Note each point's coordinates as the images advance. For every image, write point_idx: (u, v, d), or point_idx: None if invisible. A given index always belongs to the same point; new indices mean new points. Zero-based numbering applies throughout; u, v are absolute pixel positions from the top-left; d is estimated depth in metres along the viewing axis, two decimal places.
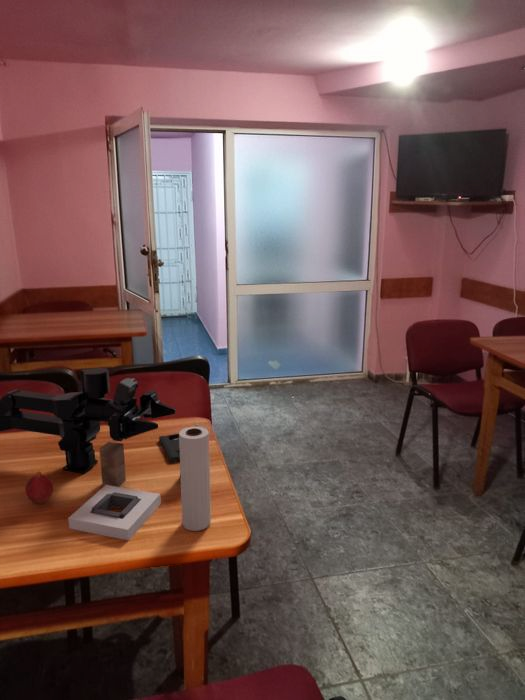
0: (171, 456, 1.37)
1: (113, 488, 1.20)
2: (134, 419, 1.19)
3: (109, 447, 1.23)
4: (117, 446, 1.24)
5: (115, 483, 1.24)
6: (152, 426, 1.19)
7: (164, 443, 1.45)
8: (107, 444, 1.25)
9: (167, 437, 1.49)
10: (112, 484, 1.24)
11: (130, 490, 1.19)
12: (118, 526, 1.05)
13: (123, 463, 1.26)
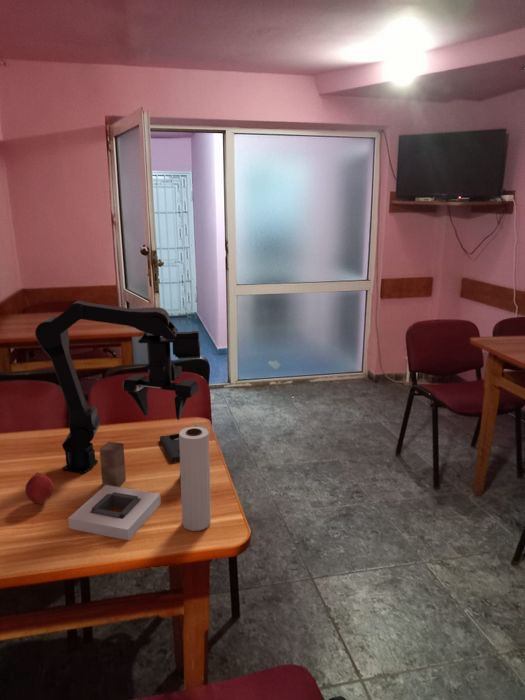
0: (172, 456, 1.38)
1: (113, 488, 1.20)
2: None
3: (109, 447, 1.23)
4: (117, 446, 1.24)
5: (115, 483, 1.24)
6: (180, 415, 1.32)
7: (165, 443, 1.45)
8: (107, 444, 1.25)
9: (168, 437, 1.49)
10: (112, 484, 1.24)
11: (130, 490, 1.19)
12: (118, 526, 1.05)
13: (123, 463, 1.26)
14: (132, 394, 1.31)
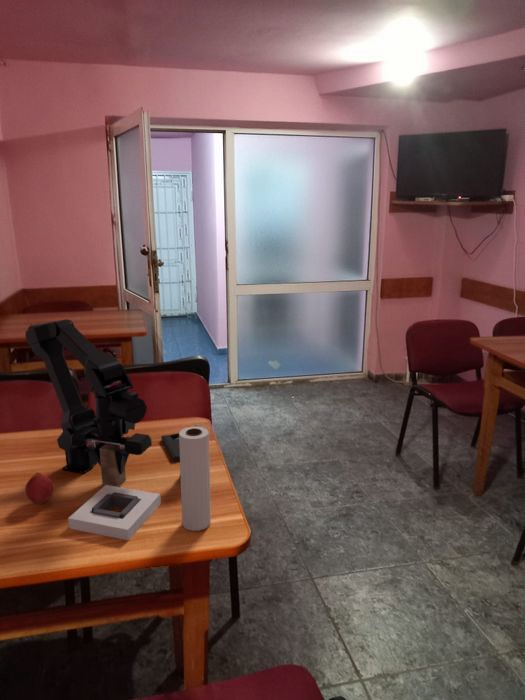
0: (174, 455, 1.38)
1: (113, 488, 1.20)
2: None
3: (109, 447, 1.23)
4: (117, 446, 1.24)
5: (115, 483, 1.24)
6: (122, 469, 1.25)
7: (167, 442, 1.45)
8: (107, 444, 1.25)
9: (169, 436, 1.49)
10: (112, 484, 1.24)
11: (130, 490, 1.19)
12: (118, 526, 1.05)
13: None
14: (89, 450, 1.23)
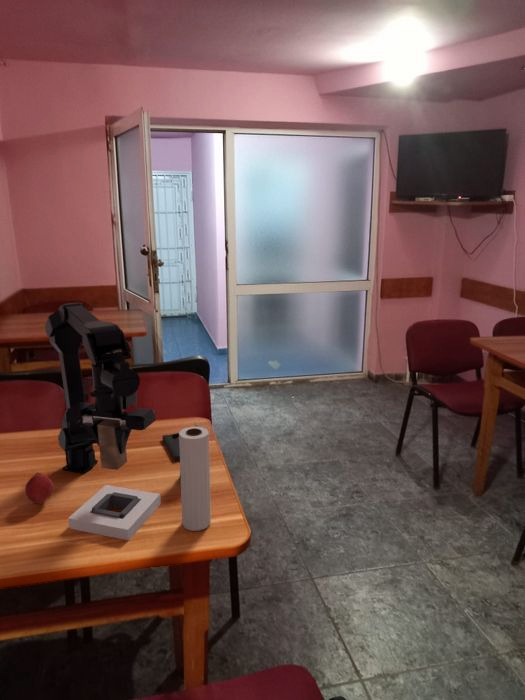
0: (175, 455, 1.38)
1: (113, 488, 1.20)
2: None
3: (108, 423, 1.11)
4: (117, 422, 1.11)
5: (115, 464, 1.11)
6: (123, 448, 1.12)
7: (168, 442, 1.46)
8: (106, 420, 1.12)
9: (170, 436, 1.50)
10: (112, 465, 1.12)
11: (130, 490, 1.19)
12: (118, 526, 1.05)
13: None
14: (86, 427, 1.10)
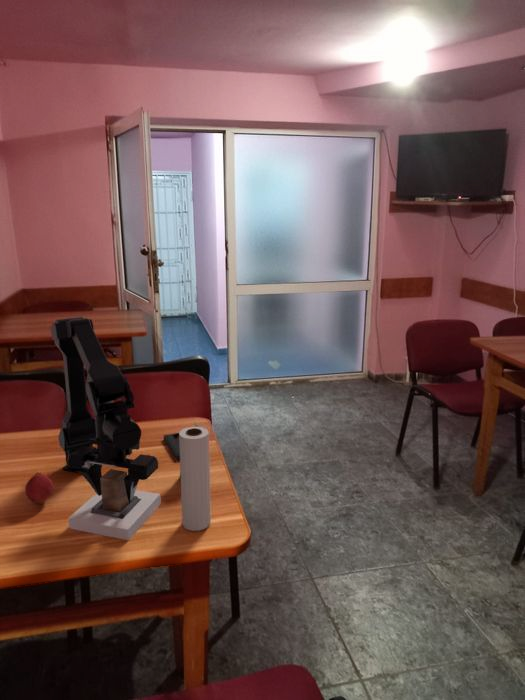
0: (177, 454, 1.39)
1: None
2: None
3: (111, 476, 1.10)
4: (120, 475, 1.11)
5: None
6: (132, 496, 1.11)
7: (169, 441, 1.46)
8: (109, 472, 1.12)
9: (172, 436, 1.50)
10: None
11: None
12: (118, 526, 1.05)
13: None
14: (82, 472, 1.09)
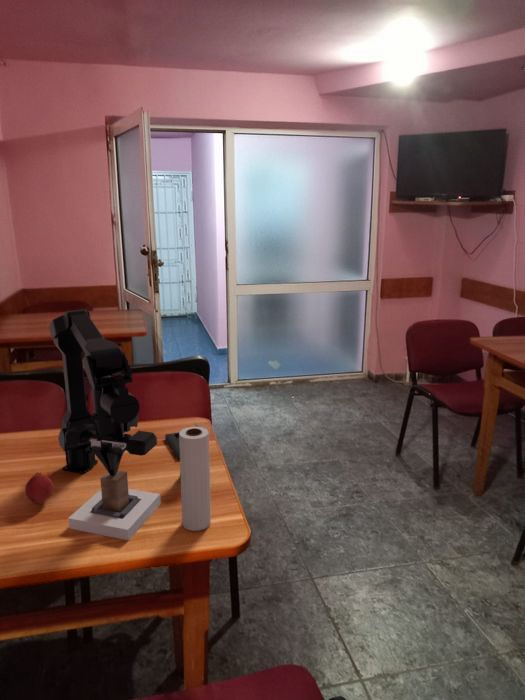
0: (179, 453, 1.39)
1: None
2: None
3: (111, 476, 1.10)
4: (120, 475, 1.11)
5: None
6: (116, 470, 1.10)
7: (171, 441, 1.46)
8: None
9: (173, 435, 1.50)
10: None
11: (130, 490, 1.19)
12: (118, 526, 1.05)
13: (127, 493, 1.13)
14: (94, 451, 1.07)
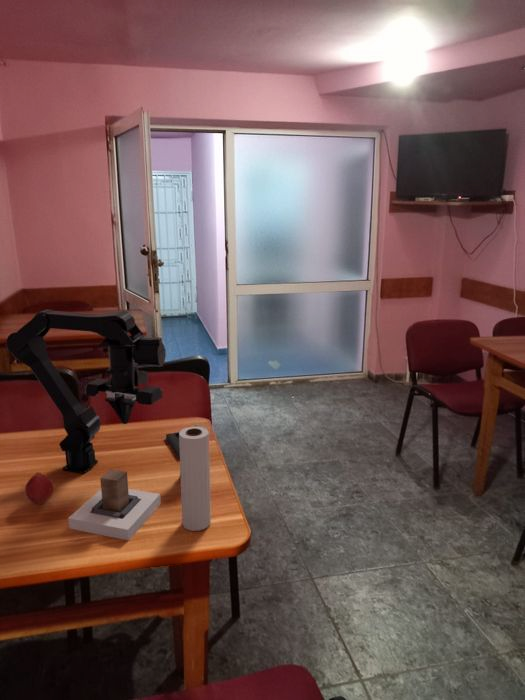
0: None
1: None
2: None
3: (111, 476, 1.10)
4: (120, 475, 1.11)
5: None
6: (127, 419, 1.29)
7: (172, 440, 1.47)
8: (109, 472, 1.12)
9: (174, 435, 1.50)
10: None
11: (130, 490, 1.19)
12: (118, 526, 1.05)
13: (127, 493, 1.13)
14: (109, 401, 1.26)
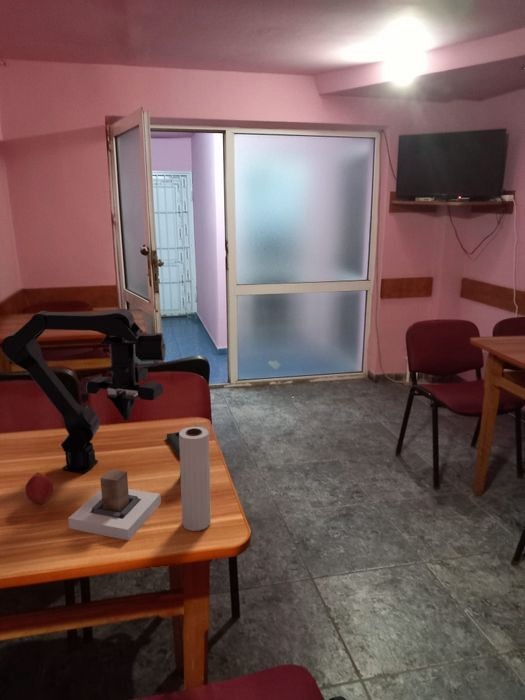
0: None
1: None
2: None
3: (111, 476, 1.10)
4: (120, 475, 1.11)
5: None
6: (128, 415, 1.31)
7: (172, 440, 1.47)
8: (109, 472, 1.12)
9: (175, 434, 1.51)
10: None
11: (130, 490, 1.19)
12: (118, 526, 1.05)
13: (127, 493, 1.13)
14: (111, 398, 1.28)
